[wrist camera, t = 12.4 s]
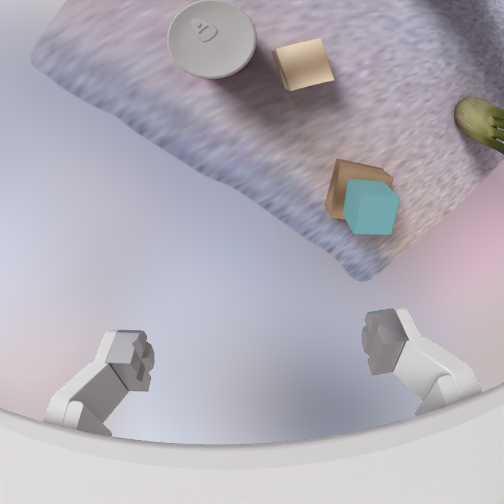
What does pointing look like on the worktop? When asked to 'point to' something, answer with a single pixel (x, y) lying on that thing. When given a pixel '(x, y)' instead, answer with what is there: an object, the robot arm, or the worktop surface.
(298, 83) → the birch cube
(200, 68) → the canned food
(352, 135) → the worktop surface
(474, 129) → the fennel bulb
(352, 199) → the teal cube
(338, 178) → the walnut slab
